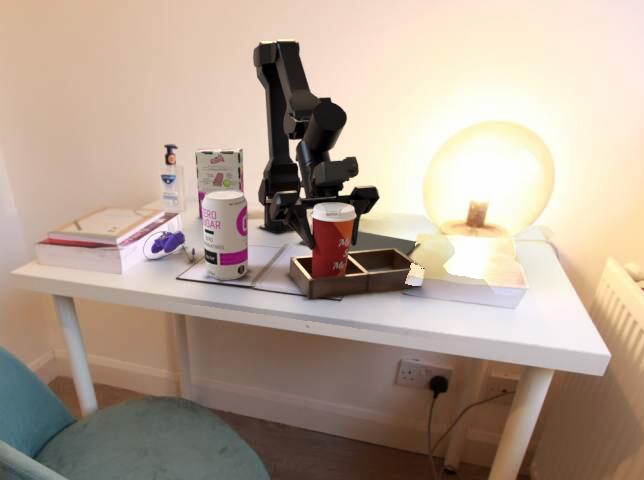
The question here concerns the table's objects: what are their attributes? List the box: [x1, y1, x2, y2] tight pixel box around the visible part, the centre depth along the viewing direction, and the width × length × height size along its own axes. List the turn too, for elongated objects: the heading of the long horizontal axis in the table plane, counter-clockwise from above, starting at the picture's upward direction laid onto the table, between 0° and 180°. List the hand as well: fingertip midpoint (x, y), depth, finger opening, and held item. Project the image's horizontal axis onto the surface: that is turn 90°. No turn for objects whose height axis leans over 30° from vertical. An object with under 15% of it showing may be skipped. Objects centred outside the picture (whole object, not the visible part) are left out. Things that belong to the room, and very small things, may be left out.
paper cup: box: [310, 202, 356, 278], centre depth 87 cm, size 8×8×14 cm
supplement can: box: [202, 190, 249, 281], centre depth 92 cm, size 8×8×15 cm
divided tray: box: [289, 248, 426, 300], centre depth 90 cm, size 11×21×4 cm, turn 102°
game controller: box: [142, 230, 196, 263], centre depth 101 cm, size 10×8×10 cm
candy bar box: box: [195, 148, 245, 219], centre depth 124 cm, size 11×5×16 cm, turn 81°
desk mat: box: [299, 230, 417, 256], centre depth 108 cm, size 22×14×1 cm, turn 55°
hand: (333, 246), depth 85 cm, fingers closed on paper cup, 7 cm apart
